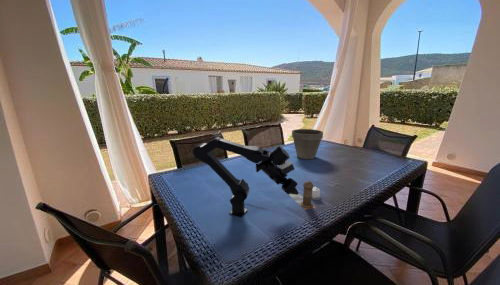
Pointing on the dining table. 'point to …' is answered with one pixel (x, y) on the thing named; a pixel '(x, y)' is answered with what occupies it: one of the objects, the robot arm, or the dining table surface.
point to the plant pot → (306, 142)
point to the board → (299, 199)
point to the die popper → (316, 193)
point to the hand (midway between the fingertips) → (292, 189)
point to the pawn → (307, 195)
